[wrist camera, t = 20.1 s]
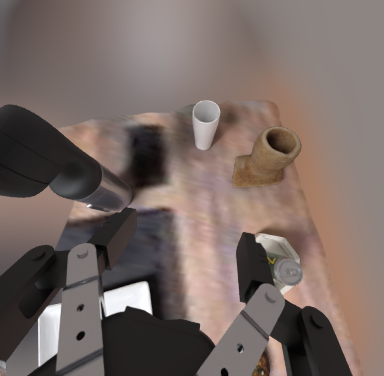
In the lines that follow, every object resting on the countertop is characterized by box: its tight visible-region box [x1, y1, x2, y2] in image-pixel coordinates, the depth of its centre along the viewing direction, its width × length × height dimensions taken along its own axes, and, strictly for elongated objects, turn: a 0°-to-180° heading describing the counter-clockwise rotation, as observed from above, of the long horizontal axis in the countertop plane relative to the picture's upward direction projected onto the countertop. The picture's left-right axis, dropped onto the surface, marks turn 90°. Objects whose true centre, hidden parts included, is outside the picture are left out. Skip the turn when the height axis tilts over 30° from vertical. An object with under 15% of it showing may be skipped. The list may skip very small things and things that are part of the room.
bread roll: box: [251, 351, 270, 376], centre depth 39 cm, size 11×11×5 cm
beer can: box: [266, 252, 303, 286], centre depth 39 cm, size 5×5×12 cm
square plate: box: [38, 281, 153, 366], centre depth 40 cm, size 27×27×4 cm
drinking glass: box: [192, 100, 220, 150], centre depth 48 cm, size 7×7×15 cm
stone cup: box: [233, 126, 301, 187], centre depth 45 cm, size 15×12×15 cm
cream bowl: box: [255, 233, 300, 295], centre depth 44 cm, size 13×13×4 cm
